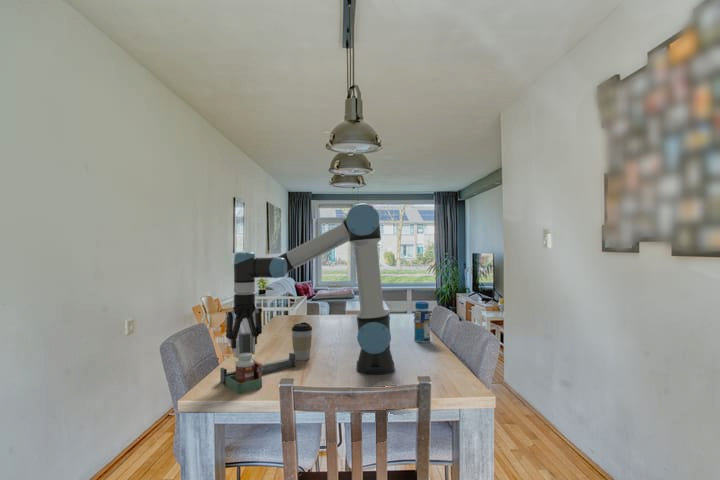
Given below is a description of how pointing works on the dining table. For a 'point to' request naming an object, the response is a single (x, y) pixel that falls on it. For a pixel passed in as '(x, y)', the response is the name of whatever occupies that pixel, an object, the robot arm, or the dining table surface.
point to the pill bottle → (244, 368)
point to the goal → (242, 384)
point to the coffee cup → (302, 340)
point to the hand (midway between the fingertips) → (244, 355)
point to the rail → (265, 367)
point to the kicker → (245, 348)
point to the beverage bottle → (422, 322)
